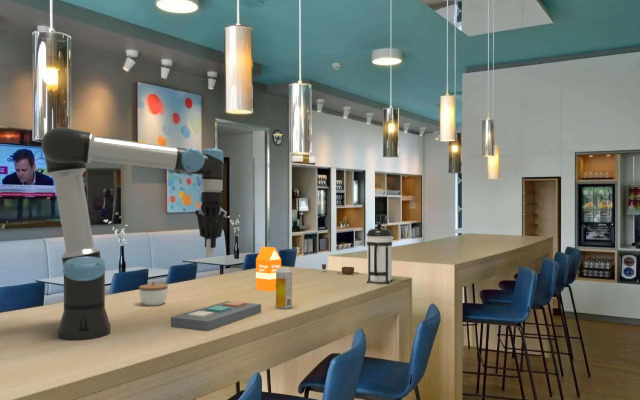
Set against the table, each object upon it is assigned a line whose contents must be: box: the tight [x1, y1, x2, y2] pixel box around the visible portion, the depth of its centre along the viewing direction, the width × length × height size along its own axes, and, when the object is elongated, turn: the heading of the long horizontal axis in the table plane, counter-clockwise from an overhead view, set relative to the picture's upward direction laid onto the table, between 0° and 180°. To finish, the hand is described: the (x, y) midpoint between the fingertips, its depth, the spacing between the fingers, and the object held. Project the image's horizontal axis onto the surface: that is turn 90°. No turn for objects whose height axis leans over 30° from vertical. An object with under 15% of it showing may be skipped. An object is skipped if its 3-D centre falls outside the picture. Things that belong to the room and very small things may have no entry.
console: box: [170, 300, 262, 332], centre depth 189 cm, size 32×15×3 cm, turn 155°
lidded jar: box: [138, 281, 169, 307], centre depth 214 cm, size 11×11×9 cm
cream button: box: [188, 311, 214, 318], centre depth 180 cm, size 6×6×3 cm
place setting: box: [321, 263, 360, 276], centre depth 307 cm, size 18×20×6 cm
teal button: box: [206, 306, 231, 313], centre depth 189 cm, size 6×6×3 cm
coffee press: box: [366, 223, 393, 285], centre depth 270 cm, size 17×16×30 cm
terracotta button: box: [223, 300, 247, 308], centre depth 198 cm, size 6×6×3 cm
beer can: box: [275, 267, 293, 310], centre depth 209 cm, size 6×6×15 cm
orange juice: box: [255, 246, 282, 292], centre depth 250 cm, size 8×9×20 cm
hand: (209, 256), depth 197 cm, fingers closed
